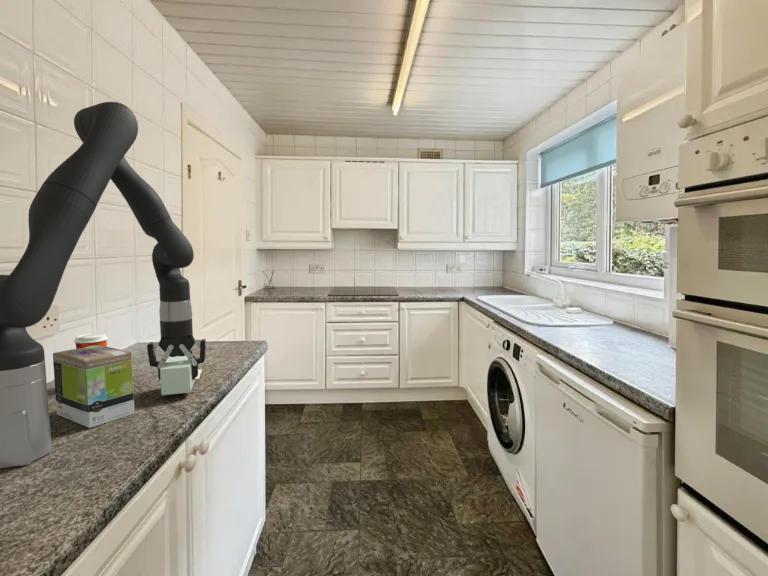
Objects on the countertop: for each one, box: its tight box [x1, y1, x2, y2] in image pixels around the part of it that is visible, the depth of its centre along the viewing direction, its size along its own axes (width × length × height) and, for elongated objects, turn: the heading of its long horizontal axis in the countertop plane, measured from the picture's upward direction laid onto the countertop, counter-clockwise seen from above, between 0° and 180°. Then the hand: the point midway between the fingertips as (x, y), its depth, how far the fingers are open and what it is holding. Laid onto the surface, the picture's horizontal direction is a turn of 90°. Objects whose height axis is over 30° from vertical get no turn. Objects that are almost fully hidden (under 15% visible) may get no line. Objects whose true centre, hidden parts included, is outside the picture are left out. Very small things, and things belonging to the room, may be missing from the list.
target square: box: [195, 368, 203, 381], centre depth 125 cm, size 10×8×1 cm
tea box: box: [52, 345, 135, 429], centre depth 95 cm, size 15×10×15 cm
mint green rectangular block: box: [160, 356, 196, 396], centre depth 110 cm, size 12×7×7 cm, turn 19°
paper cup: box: [73, 332, 109, 349], centre depth 116 cm, size 8×8×14 cm
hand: (179, 379), depth 111 cm, fingers closed on mint green rectangular block, 6 cm apart
